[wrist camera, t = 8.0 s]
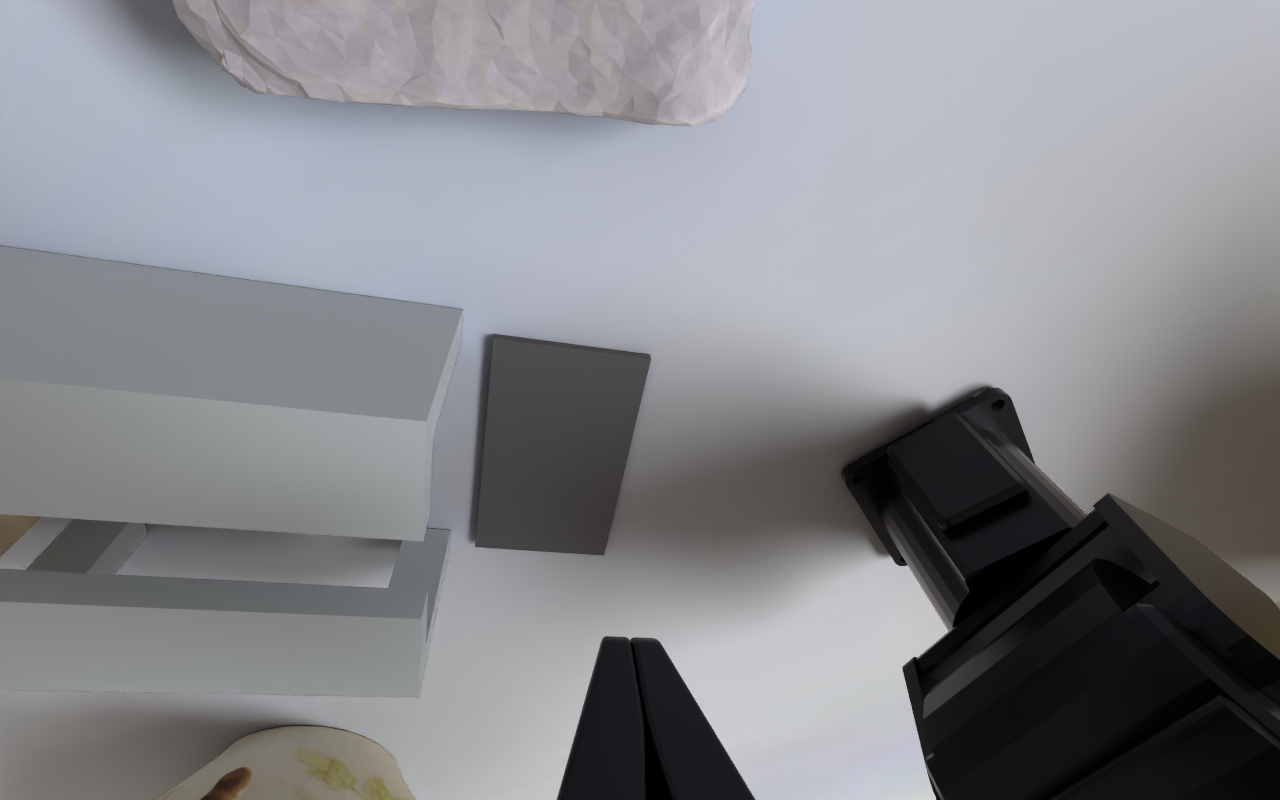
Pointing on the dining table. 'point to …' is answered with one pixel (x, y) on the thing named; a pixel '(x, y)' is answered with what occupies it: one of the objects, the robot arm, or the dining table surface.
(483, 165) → the dining table surface
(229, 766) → the sugar bowl
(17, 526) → the tan t-shaped block
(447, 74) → the stone block
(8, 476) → the tunnel
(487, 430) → the mat
